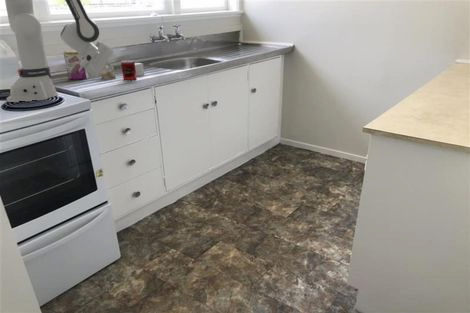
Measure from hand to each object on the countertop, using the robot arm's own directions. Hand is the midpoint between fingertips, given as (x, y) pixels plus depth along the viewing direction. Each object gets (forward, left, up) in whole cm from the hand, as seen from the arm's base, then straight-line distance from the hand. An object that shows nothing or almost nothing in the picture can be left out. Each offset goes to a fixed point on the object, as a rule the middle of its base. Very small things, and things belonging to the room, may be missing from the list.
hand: (112, 70), depth 193 cm
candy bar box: (-14, +37, -9) cm, 40 cm away
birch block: (+2, +27, -9) cm, 29 cm away
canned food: (+12, +14, -9) cm, 20 cm away
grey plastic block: (+20, +27, -9) cm, 35 cm away
